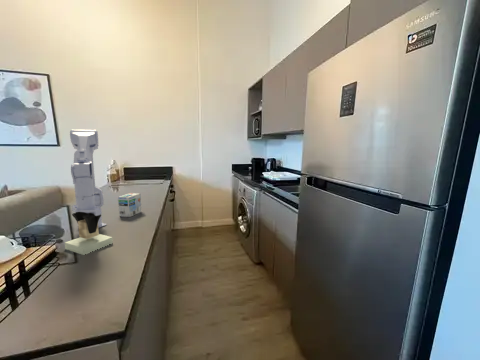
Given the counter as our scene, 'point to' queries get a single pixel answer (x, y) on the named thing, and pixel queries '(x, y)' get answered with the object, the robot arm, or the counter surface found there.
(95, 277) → the counter surface
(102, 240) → the sage box
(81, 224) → the birch block
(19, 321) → the counter surface
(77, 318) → the counter surface
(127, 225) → the counter surface
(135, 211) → the light bulb box
